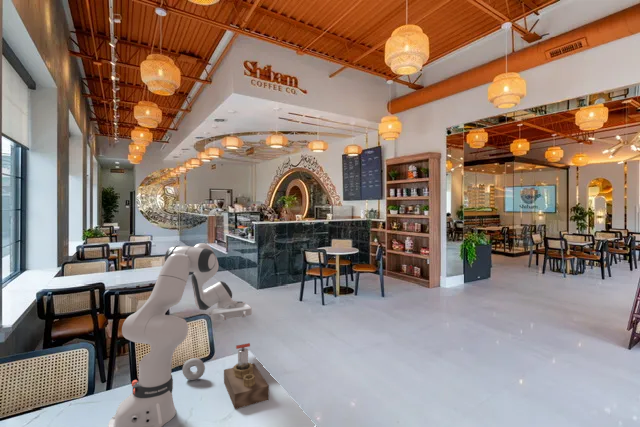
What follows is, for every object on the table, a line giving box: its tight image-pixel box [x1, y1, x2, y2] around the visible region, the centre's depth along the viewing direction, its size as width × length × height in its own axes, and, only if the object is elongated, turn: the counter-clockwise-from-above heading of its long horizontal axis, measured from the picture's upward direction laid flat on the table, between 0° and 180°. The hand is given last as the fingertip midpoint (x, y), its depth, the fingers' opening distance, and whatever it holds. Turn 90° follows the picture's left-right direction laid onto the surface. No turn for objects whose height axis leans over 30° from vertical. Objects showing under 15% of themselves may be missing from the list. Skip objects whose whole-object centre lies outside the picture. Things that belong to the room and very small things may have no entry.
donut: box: [182, 357, 206, 381], centre depth 151 cm, size 10×4×10 cm, turn 97°
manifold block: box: [223, 362, 270, 410], centre depth 142 cm, size 14×22×9 cm, turn 27°
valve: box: [235, 342, 251, 370], centre depth 146 cm, size 6×5×12 cm
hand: (234, 317), depth 161 cm, fingers open, 8 cm apart
